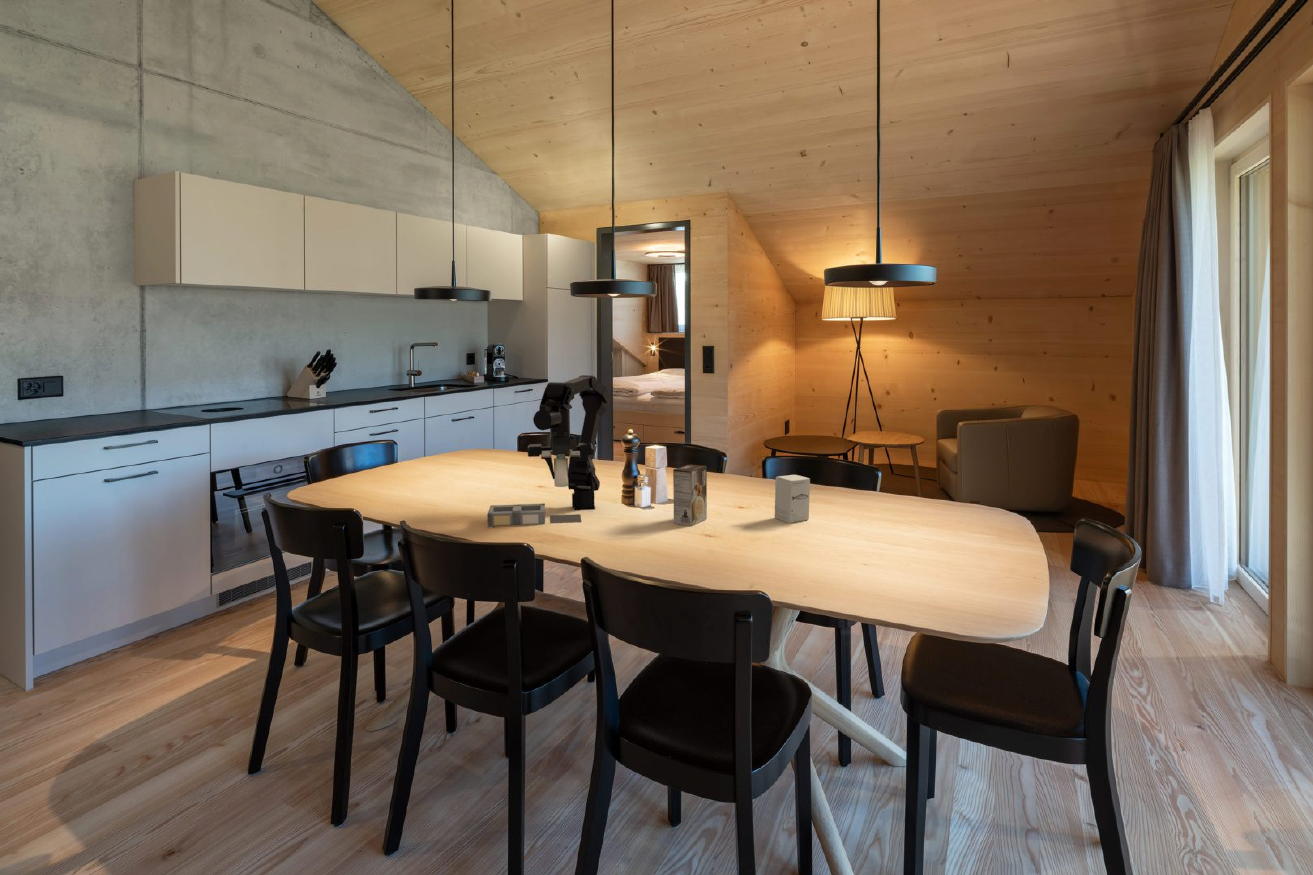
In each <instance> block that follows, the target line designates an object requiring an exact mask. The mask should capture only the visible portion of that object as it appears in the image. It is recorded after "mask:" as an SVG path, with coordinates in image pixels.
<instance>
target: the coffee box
mask: <svg viewBox="0 0 1313 875" xmlns="http://www.w3.org/2000/svg"><path fill="white" fill-rule="evenodd" d="M672 471H673V475H672V477H673V478H672V480H673V482H672V483H673V490H672V491H673V493H672V494H673V524H675V525H681V526H682V525H683V526H688V527H689V526H690V527H693V526H695V525H697V524H699V523H701V522H704V521H705V520H707V518H708V517H707V512H708V511H707V510H708V509H707V508H708V502H707V501H708V500H707V499H708V498H707V496H708V495H707V493H708V490H707V489H708V488H707V486H708V484H707V482H708V481H707V478H708V476H707V474H708V473H707V471H708V470H707V465H698V464H697V465H696V464H686V465H682V466H680V467H676V468H673V469H672Z"/></svg>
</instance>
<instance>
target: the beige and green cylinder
mask: <svg viewBox="0 0 1313 875" xmlns="http://www.w3.org/2000/svg"><path fill="white" fill-rule="evenodd" d="M555 456H556V457H555V458H553V469H554V479H553V480H554V487H558V488H566V487H568V466H569V457H566V455H555Z"/></svg>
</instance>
